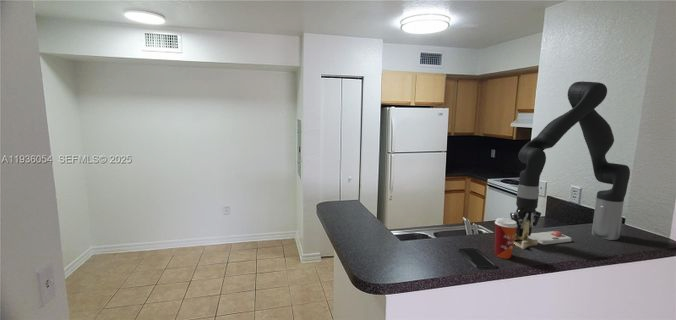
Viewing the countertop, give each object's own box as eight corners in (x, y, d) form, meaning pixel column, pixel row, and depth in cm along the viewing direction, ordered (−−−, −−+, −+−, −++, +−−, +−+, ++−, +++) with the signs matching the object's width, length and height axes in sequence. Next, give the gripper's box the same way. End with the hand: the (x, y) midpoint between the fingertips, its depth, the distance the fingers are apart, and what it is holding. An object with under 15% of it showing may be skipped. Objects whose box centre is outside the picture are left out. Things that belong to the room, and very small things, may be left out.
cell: (530, 240, 129) (532, 220, 128) (522, 240, 128) (525, 221, 127) (523, 236, 133) (525, 217, 131) (516, 237, 132) (517, 218, 130)
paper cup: (505, 261, 115) (509, 225, 113) (487, 253, 122) (490, 219, 120) (519, 257, 119) (522, 222, 117) (500, 249, 125) (503, 216, 123)
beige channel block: (522, 240, 135) (522, 233, 135) (537, 247, 128) (537, 240, 128) (508, 241, 134) (509, 234, 133) (523, 248, 126) (523, 241, 126)
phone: (476, 248, 125) (498, 266, 110) (476, 250, 125) (497, 269, 110) (457, 248, 124) (476, 266, 109) (457, 251, 124) (476, 269, 110)
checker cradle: (553, 236, 140) (554, 230, 139) (570, 243, 132) (571, 237, 132) (527, 239, 136) (527, 233, 136) (543, 246, 129) (544, 240, 128)
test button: (556, 238, 137) (557, 230, 136) (562, 240, 134) (563, 233, 134) (550, 238, 136) (551, 231, 136) (557, 241, 133) (558, 233, 133)
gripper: (520, 199, 122) (516, 240, 125) (549, 197, 126) (544, 237, 128) (506, 194, 130) (502, 233, 132) (533, 192, 133) (529, 231, 136)
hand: (523, 235), depth 130 cm, fingers closed on cell, 3 cm apart
